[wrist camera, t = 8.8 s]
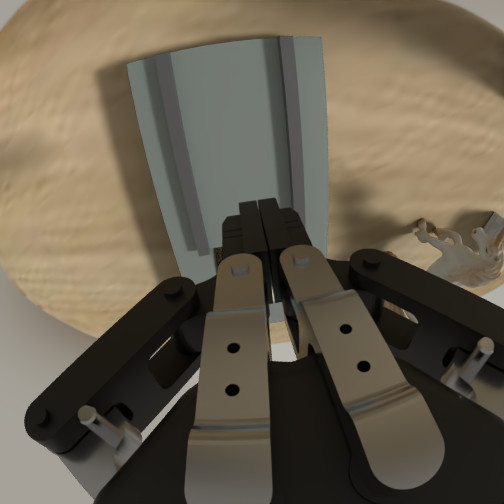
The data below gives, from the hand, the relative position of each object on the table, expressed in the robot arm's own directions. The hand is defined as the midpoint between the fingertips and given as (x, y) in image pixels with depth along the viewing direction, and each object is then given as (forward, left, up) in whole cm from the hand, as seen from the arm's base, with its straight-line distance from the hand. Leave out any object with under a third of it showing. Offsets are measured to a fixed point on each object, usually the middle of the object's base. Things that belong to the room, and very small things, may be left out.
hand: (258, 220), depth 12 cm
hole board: (0, +7, -17) cm, 18 cm away
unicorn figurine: (-19, +14, -17) cm, 29 cm away
